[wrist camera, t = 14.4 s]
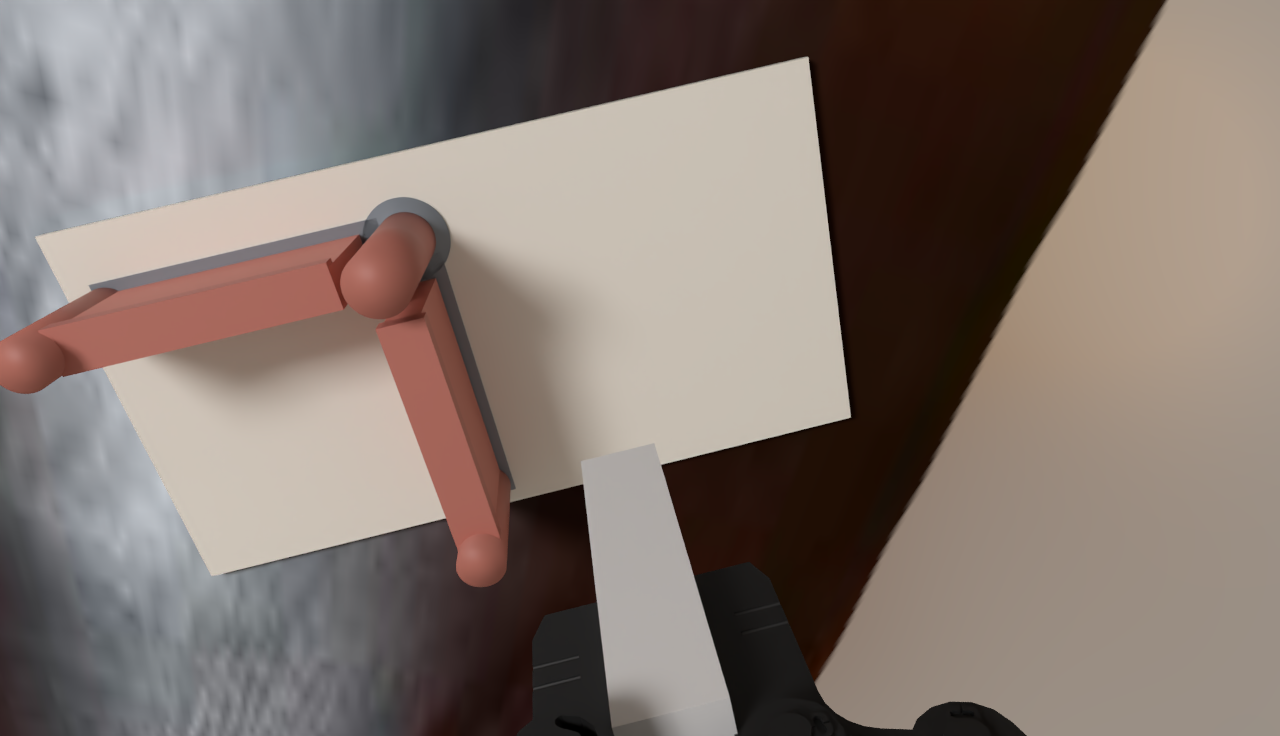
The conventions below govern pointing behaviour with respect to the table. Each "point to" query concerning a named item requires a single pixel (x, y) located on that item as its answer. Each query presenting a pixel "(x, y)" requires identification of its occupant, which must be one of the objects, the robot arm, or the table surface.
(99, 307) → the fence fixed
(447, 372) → the red wall panel
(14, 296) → the table surface
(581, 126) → the card
